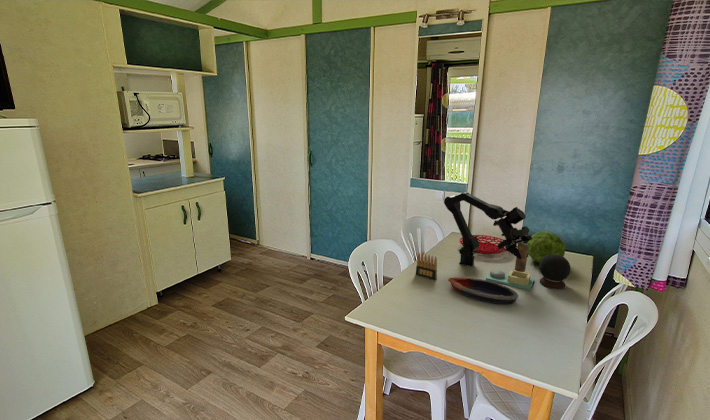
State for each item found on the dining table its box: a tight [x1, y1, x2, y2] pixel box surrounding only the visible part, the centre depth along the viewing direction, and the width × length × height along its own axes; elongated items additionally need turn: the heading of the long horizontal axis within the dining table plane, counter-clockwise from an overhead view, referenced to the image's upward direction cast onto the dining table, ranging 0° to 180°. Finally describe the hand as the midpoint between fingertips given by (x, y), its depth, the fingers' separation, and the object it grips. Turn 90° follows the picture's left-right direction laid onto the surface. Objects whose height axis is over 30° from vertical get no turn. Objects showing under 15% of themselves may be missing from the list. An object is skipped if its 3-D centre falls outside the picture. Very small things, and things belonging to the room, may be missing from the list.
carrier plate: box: [485, 269, 535, 291], centre depth 183 cm, size 20×12×4 cm, turn 57°
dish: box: [447, 276, 519, 305], centre depth 168 cm, size 16×31×5 cm, turn 55°
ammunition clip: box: [415, 252, 438, 281], centre depth 185 cm, size 11×2×12 cm, turn 55°
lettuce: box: [527, 230, 566, 265], centre depth 204 cm, size 19×23×18 cm
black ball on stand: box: [538, 254, 572, 290], centre depth 178 cm, size 13×13×15 cm
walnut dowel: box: [514, 243, 529, 272], centre depth 178 cm, size 5×5×13 cm
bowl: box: [459, 234, 508, 255], centre depth 222 cm, size 29×29×5 cm
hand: (524, 257), depth 177 cm, fingers closed on walnut dowel, 5 cm apart
